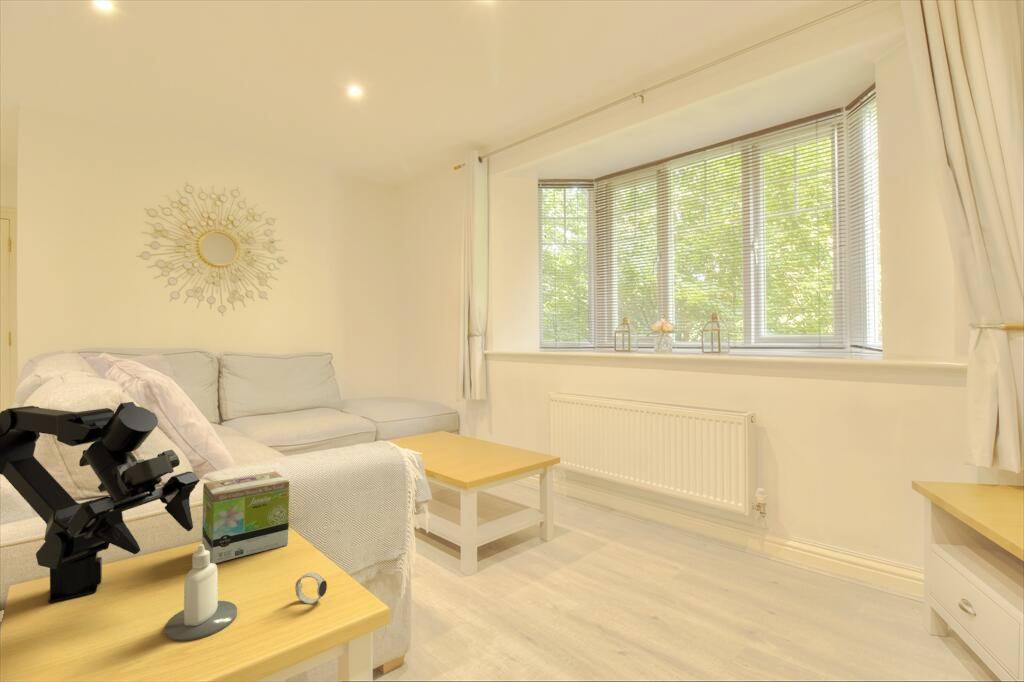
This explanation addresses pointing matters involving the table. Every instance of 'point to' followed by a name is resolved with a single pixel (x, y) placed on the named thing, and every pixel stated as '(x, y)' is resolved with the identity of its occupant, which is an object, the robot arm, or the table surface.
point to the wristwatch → (321, 589)
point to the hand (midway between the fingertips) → (165, 540)
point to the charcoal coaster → (217, 622)
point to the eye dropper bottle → (200, 589)
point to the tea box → (245, 515)
